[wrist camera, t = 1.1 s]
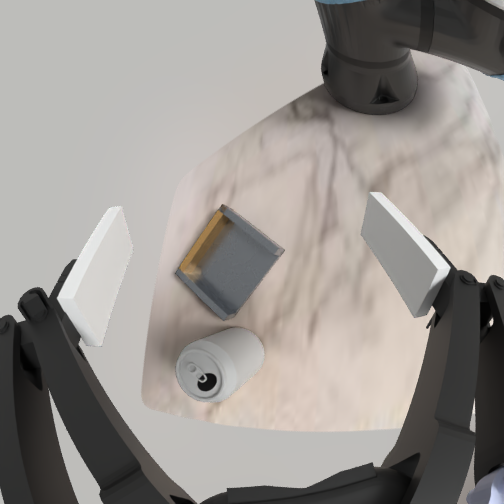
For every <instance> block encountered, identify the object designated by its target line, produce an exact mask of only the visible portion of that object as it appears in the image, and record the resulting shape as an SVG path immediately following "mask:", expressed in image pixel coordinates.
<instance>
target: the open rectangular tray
mask: <svg viewBox="0 0 504 504" xmlns="http://www.w3.org/2000/svg"><path fill="white" fill-rule="evenodd" d="M284 251H285V250H284V249H283V248H282V247H280V246H279V245H278V244H276V243H275V242H274V241H273V240H271V239H270V238H269V237H267V236H266V235H265V234H264V233H262V232H261V231H260V230H258V229H257V228H256V227H255V226H253V225H252V224H251V223H249V222H248V221H247V220H246V219H244V218H243V217H242V216H240V215H239V214H238V213H236V212H235V211H234V210H233V209H231V208H229V207H227V206H225V205H223V204H222V205H221V207H220V208H219V209H218V211H217V212H216V214H215V215H214V217H213V218H212V219H211V221H210V222H209V224H208V225H207V227H206V228H205V230H204V231H203V232H202V234H201V235H200V237H199V238H198V240H197V241H196V243H195V244H194V246H193V247H192V249H191V250H190V252H189V253H188V255H187V256H186V258H185V259H184V261H183V262H182V264H181V265H180V267H179V268H178V270H177V271H176V273H175V274H176V275H177V276H178V277H179V278H180V279H181V280H182V281H183V282H184V283H185V284H186V285H187V286H188V287H189V288H190V289H191V290H192V291H193V292H194V293H195V294H196V295H197V296H198V297H199V298H200V299H201V300H202V301H203V302H204V303H205V304H206V305H207V306H208V307H210V308H211V309H212V310H213V311H214V312H215V313H216V314H217V315H218V316H219V317H220V318H221V319H222V320H223V321H225V320H228V319H231V318H233V317H234V316H235V315H236V313H237V312H238V311H239V310H240V308H241V307H242V306H243V304H244V303H245V302H246V301H247V299H248V298H249V297H250V295H251V294H252V293H253V292H254V290H255V289H256V288H257V286H258V285H259V284H260V282H261V281H262V280H263V278H264V277H265V276H266V275H267V273H268V272H269V271H270V269H271V268H272V267H273V265H274V264H275V263H276V261H277V260H278V259H279V257H280V256H281V255H282V253H283V252H284Z"/></svg>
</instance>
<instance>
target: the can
mask: <svg viewBox="0 0 504 504" xmlns="http://www.w3.org/2000/svg"><path fill="white" fill-rule="evenodd" d="M263 362H264V349H263V345H262V343H261V342H260V340H259V338H258V337H257V336H256V335H255V334H254V333H252V332H251V331H249V330H247V329H245V328H239V327H234V328H230V329H226V330H224V331H221V332H218V333H216V334H213V335H210V336H208V337H205V338H202V339H199V340H197V341H194V342H192V343H190V344H189V345H187V346H185V348H184V349H183V351H182V352H181V353H180V356H179V358H178V359H177V363H176V366H175V369H176V377H177V380H178V383H179V385H180V386H181V388H182V389H183V391H184V392H185V393H186V394H187V395H188V396H190V397H192V398H193V399H195V400H197V401H201V402H220V401H223V400H225V399H227V398H228V397H229V396H231V395H232V394H233V393H234V392H235V391H237V390H238V389H239V388H240V387H241V386H242V385H243V384H245V383H246V382H247V381H248V380H249V379H250V378H251V377H253V376H254V375H255V374H256V373H257V372H258V371H259V369H260V368H261V367H262V364H263Z"/></svg>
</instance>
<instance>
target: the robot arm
mask: <svg viewBox="0 0 504 504" xmlns="http://www.w3.org/2000/svg"><path fill="white" fill-rule="evenodd" d="M315 3H316V7H317V10H318V14H319V17H320V20H321V24H322V28H323V31H324V35H325V39H326V43H327V44H326V48H325V51H324V56H323V60H322V64H321V71H322V76H323V79H324V84H325V86H326V88H327V90H328V92H329V93H330V94H331V95H332V96H333V97H334V98H335V99H336V100H337V101H338V102H340V103H341V104H343V105H344V106H346V107H348V108H350V109H352V110H355V111H358V112H362V113H366V114H376V115H380V114H389V113H393V112H396V111H399V110H401V109H403V108H404V107H406V106H407V105H408V104H409V103H410V102H411V101H412V99H413V97H414V95H415V92H416V88H417V81H418V79H417V72H416V68H415V65H414V62H413V58H412V55H411V52H410V49H413V50H417V51H421V52H425V53H428V54H432V55H435V56H438V57H442V58H445V59H448V60H451V61H454V62H456V63H459V64H462V65H465V66H467V67H470V68H473V69H475V70H478V71H480V72H482V73H483V74H485V75H487V76H490V77H494V78H498V79H501V80H503V81H504V0H315ZM361 236H362V237H363V239H364V240H365V241H366V243H367V244H368V246H369V247H370V249H371V250H372V252H373V253H374V255H375V256H376V257H377V259H378V260H379V262H380V264H381V265H382V267H383V268H384V270H385V271H386V273H387V274H388V276H389V277H390V279H391V281H392V282H393V284H394V285H395V287H396V289H397V290H398V292H399V293H400V295H401V297H402V298H403V300H404V302H405V303H406V305H407V307H408V308H409V310H410V312H411V313H412V315H413V317H414V318H416V317H421V316H425V315H427V314H428V312H429V310H430V308H431V306H433V307H434V309H435V313H434V315H433V316H432V318H431V320H430V321H429V323H428V325H427V327H426V328H427V329H428V328H429V326H430V325H431V328H430V333H429V338H428V342H427V347H426V351H425V356H424V360H423V364H422V368H421V371H420V375H419V379H418V382H417V385H416V389H415V392H414V395H413V398H412V402H411V405H410V408H409V411H408V413H407V416H406V419H405V422H404V424H403V427H402V430H401V432H400V435H399V437H398V440H397V442H396V444H395V446H394V448H393V449H392V450H391V452H390V453H389V454H388V455H387V457H386V458H385V460H384V462H383V464H382V465H381V467H374V466H373V463H369V464H366V465H362V466H359V467H356V468H352V469H349V470H345V471H341V472H339V473H337V474H335V475H333V476H331V477H329V478H327V479H325V480H323V481H321V482H318V483H316V484H314V485H312V486H310V487H307V488H287V487H273V486H255V487H241V488H227V492H224V493H220V494H218V495H215V496H212V497H210V498H208V499H206V500H205V501H203V502H202V503H200V504H457V502H458V499H459V496H460V494H461V491H462V488H463V485H464V482H465V479H466V476H467V473H468V469H469V466H470V462H471V459H472V455H473V451H474V447H475V456H474V458H475V459H474V479H475V488H474V489H472V490H471V491H470V492H469V493H468V495H467V498H466V500H467V503H468V504H504V280H503V279H502V278H501V277H498V276H496V275H491V276H490V277H489V279H488V280H487V282H486V283H479V282H478V281H477V280H476V278H475V277H474V276H473V275H472V274H470V273H469V272H467V271H463V270H457V269H456V268H455V267H454V265H453V264H452V263H451V262H450V261H449V259H448V258H447V257H446V256H445V255H444V254H443V252H442V251H441V250H440V249H438V247H437V246H436V245H435V243H434V242H433V241H432V240H430V239H429V238H427V237H426V236H424V235H422V234H421V233H420V232H419V230H418V229H417V228H416V227H415V226H414V225H413V224H412V223H411V222H410V221H409V220H408V219H407V218H406V217H405V216H404V215H403V214H402V213H401V212H400V211H399V210H398V209H397V208H396V207H395V206H394V205H393V204H392V203H391V202H390V201H389V200H388V199H387V198H386V197H385V196H384V195H383V194H382V193H381V192H369V196H368V201H367V206H366V211H365V216H364V221H363V225H362V230H361ZM133 250H134V249H133V245H132V242H131V238H130V235H129V231H128V227H127V224H126V220H125V216H124V212H123V208H122V206H118V207H110V208H109V209H108V210H107V212H106V213H105V215H104V216H103V218H102V219H101V221H100V222H99V224H98V226H97V227H96V229H95V230H94V232H93V233H92V235H91V237H90V238H89V240H88V242H87V243H86V245H85V247H84V249H83V250H82V252H81V254H80V256H79V258H78V259H74V260H72V261H71V262H70V263H69V264H68V265H67V266H66V267H65V269H64V271H63V272H62V274H61V276H60V278H59V280H58V283H56V285H55V287H54V289H53V291H52V293H51V295H50V297H49V298H48V297H47V295H46V293H45V292H44V290H43V289H42V288H39V287H37V288H32V289H30V290H28V291H27V292H26V293H24V294H23V296H22V297H21V298H20V300H19V302H18V309H19V311H20V312H21V313H22V315H23V316H24V318H25V319H26V320H25V321H22V322H18V323H17V322H16V320H15V319H14V318H13V316H11V315H6V316H3V317H2V318H0V489H1V492H2V496H3V500H4V504H79V503H78V501H77V498H76V496H75V493H74V491H73V488H72V485H71V482H70V479H69V476H68V473H67V470H66V467H65V463H64V460H63V457H62V453H61V449H60V446H59V441H58V437H57V433H56V429H55V424H54V419H53V414H52V409H51V403H50V396H49V391H50V393H51V395H52V398H53V400H54V403H55V405H56V407H57V410H58V412H59V414H60V416H61V418H62V420H63V423H64V425H65V427H66V429H67V431H68V433H69V435H70V437H71V439H72V441H73V442H74V444H75V446H76V448H77V450H78V452H79V453H80V455H81V457H82V459H83V460H84V462H85V464H86V465H87V467H88V469H89V470H90V472H91V473H92V475H93V477H94V478H95V480H96V481H97V483H98V485H99V486H100V489H101V490H100V494H99V495H100V498H101V501H102V502H103V504H197V503H196V502H195V501H194V500H193V499H192V498H191V497H190V496H189V495H188V494H187V493H186V492H185V491H184V490H183V489H182V488H181V487H180V486H178V485H177V484H176V483H175V482H174V481H172V480H171V479H170V478H169V477H168V476H167V475H166V473H165V472H164V471H163V470H162V469H161V468H160V466H159V465H158V464H157V463H156V462H155V461H154V459H153V458H152V457H151V456H150V455H149V453H148V452H147V451H146V450H145V448H144V447H143V446H142V444H141V443H140V442H139V440H138V439H137V438H136V437H135V435H134V434H133V433H132V431H131V430H130V429H129V427H128V426H127V424H126V423H125V421H124V420H123V418H122V417H121V415H120V414H119V412H118V411H117V409H116V408H115V406H114V405H113V403H112V402H111V400H110V399H109V397H108V396H107V394H106V393H105V391H104V389H103V387H102V386H101V384H100V382H99V380H98V379H97V377H96V375H95V374H94V372H93V370H92V368H91V367H90V365H89V363H88V361H87V359H86V357H85V355H84V353H83V351H82V349H81V348H80V346H79V345H78V343H79V341H80V338H82V340H83V341H84V342H85V344H86V345H87V346H100V347H101V346H102V345H103V341H104V337H105V334H106V330H107V327H108V323H109V320H110V316H111V313H112V310H113V307H114V304H115V301H116V297H117V295H118V292H119V289H120V286H121V283H122V280H123V277H124V274H125V271H126V269H127V266H128V263H129V260H130V258H131V255H132V252H133ZM492 318H493V320H494V321H493V325H492V326H490V323H489V322H490V321H491V319H492ZM48 388H49V390H48ZM474 398H475V416H476V432H472V431H470V428H469V427H470V421H471V416H472V410H473V404H474Z"/></svg>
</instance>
